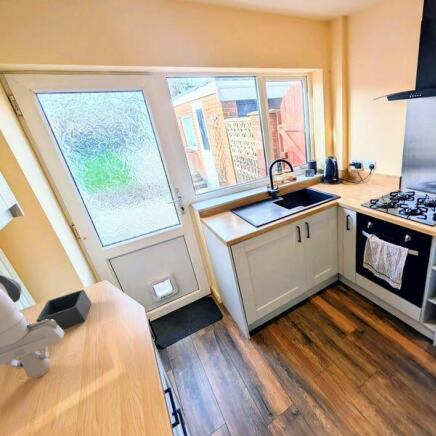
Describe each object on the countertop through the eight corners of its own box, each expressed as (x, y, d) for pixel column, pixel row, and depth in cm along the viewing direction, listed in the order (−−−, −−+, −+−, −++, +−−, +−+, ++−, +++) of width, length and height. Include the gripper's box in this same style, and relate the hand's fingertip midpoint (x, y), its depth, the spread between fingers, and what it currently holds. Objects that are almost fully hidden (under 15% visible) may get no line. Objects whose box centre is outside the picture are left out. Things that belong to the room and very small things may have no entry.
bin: (46, 335, 97) (36, 320, 93) (57, 314, 107) (47, 300, 104) (85, 321, 101) (76, 307, 98) (91, 302, 112) (83, 289, 108)
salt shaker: (52, 360, 86) (32, 334, 80) (53, 371, 82) (32, 344, 76) (30, 372, 82) (7, 346, 77) (30, 384, 78) (6, 357, 73)
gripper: (55, 310, 81) (75, 340, 86) (-31, 339, 73) (-3, 369, 79) (48, 323, 76) (70, 354, 81) (-45, 356, 68) (-14, 387, 73)
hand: (33, 362), depth 80 cm, fingers open, 5 cm apart
